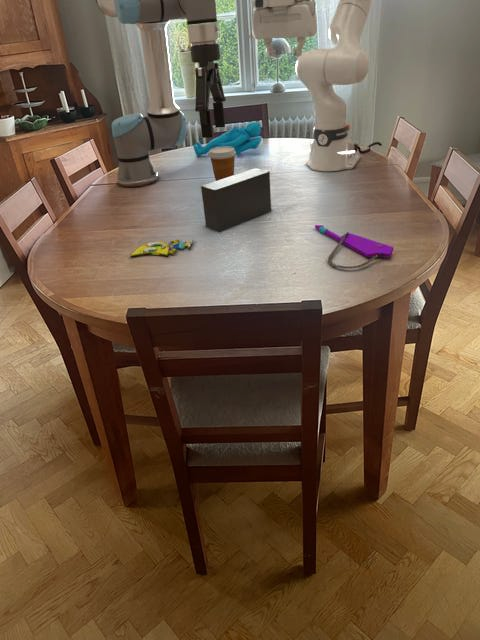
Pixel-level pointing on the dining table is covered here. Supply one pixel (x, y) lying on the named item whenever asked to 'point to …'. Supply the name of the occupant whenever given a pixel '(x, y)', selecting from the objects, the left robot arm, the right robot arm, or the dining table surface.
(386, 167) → the dining table surface
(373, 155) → the dining table surface
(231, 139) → the toy
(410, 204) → the dining table surface
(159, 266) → the dining table surface
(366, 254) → the musical instrument
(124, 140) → the left robot arm
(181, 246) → the toy
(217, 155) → the disposable coffee cup
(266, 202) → the box
